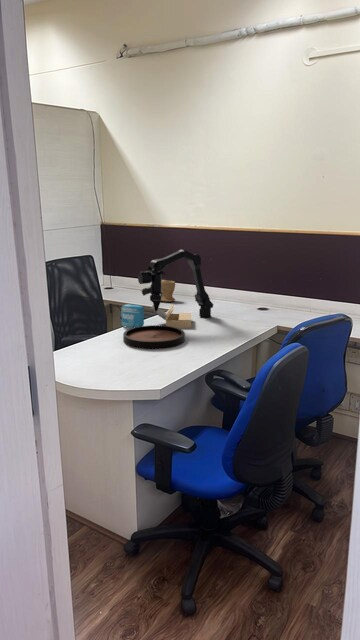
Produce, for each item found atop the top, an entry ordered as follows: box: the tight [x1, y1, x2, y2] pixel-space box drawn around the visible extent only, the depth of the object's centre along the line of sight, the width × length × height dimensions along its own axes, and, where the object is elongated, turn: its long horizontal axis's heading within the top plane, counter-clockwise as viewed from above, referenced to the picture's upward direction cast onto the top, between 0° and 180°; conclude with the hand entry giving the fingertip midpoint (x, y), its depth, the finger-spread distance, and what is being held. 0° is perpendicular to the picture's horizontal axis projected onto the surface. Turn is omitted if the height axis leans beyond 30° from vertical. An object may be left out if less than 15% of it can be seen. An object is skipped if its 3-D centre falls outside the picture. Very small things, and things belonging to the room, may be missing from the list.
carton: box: [165, 312, 192, 329], centre depth 282 cm, size 14×18×5 cm
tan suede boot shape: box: [161, 279, 176, 303], centre depth 343 cm, size 15×12×15 cm
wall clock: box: [122, 324, 186, 350], centre depth 251 cm, size 31×4×31 cm
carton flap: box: [150, 303, 175, 321], centre depth 281 cm, size 7×17×10 cm
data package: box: [120, 303, 145, 328], centre depth 276 cm, size 12×4×12 cm, turn 69°
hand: (156, 309), depth 281 cm, fingers open, 9 cm apart
